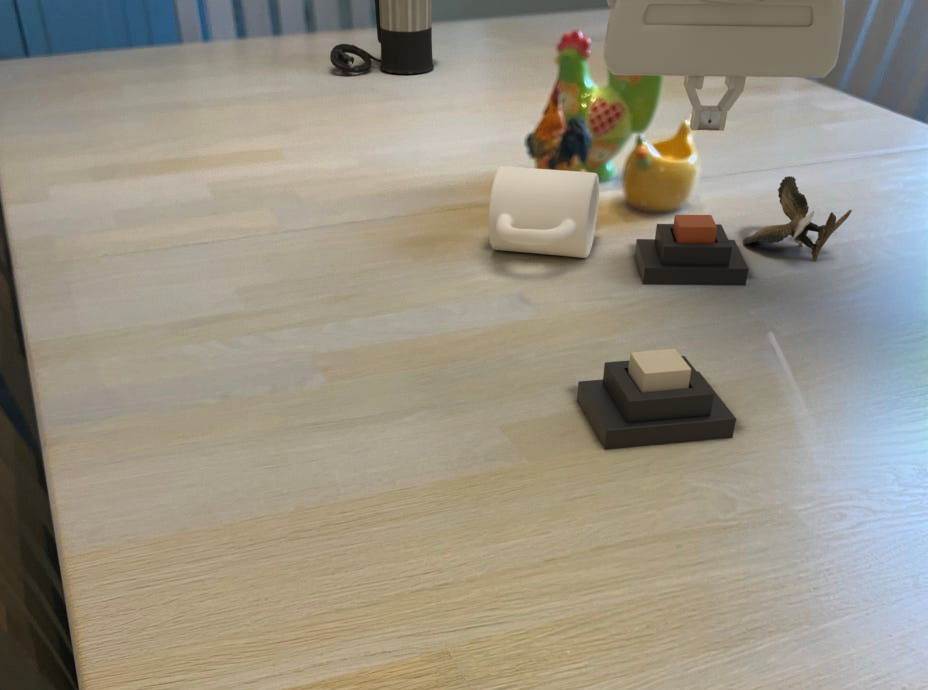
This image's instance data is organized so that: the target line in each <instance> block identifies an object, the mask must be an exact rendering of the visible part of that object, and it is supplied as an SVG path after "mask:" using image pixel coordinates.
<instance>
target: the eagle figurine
mask: <svg viewBox="0 0 928 690" xmlns="http://www.w3.org/2000/svg"><path fill="white" fill-rule="evenodd" d="M796 180H797V179H796V178H795V176H790V175H788V176H785V177H784V178H783V179H782V180H781V182H780V183H779V187H778V189H777V192H778V195H777V196H778V198H779V204H780V205H781V208H782V212H783V214H784V215H785V216H786V217H787V218H788V219H789V220H790V221H789V222H788V223H785V224H771V225H765V226H763V227H762V228H759V229H758V230H757V231H755V232H754V233H753V234H752V235H750V236H746V237H745V238H743V241H742V243H743V244H746V245H747V244H752V243H758V242H766V243H768V244H774V243H780V242H782V241H784V239H786V238H788V237H789V236H791V237H792V239H791V240H792V241H794V243H795V244H798V245H799V246H800V247H804V245H805V247H807V248H809V249H811V256H812V258H811V259H812V261H813V262H816V261H818V257H819V253H820V252H821V250H822V248H823V246H824V245H825V244H826V243H827V241H828V240H829V239H830V237H831V235H833V233H835V231H837V229H838V228H839V227H841V226H842V224H843V223H844V222H845V221H846V220H847V219H848V218H849V216H850V215H851V213H852V211H853V210H852V209H849V210H848V211H846V213H844V214H843V215H842V216H841V217H840V218H838V220H837V216H836V215H835V214H834V212H833V211H831V212H830V213H829V216H828V217H827V220H826V221H825V224H821V225H818V224H816V223H814V222H812V220H813V217H814V215H815V211H814V210H812V211H811V212H810V213H809V203H808V200H807V198H806V195H805V194H803V193H801V192H800V191H799V187H798V186H797V182H796ZM808 213H809V214H808ZM807 214H808V215H807ZM808 232H815V233H817V239H816V240H815V241H814V242H815V243H814V242H813V241H812V239H811V238H810V237H809V236H807V235H808Z"/></svg>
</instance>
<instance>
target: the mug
mask: <svg viewBox="0 0 928 690" xmlns="http://www.w3.org/2000/svg"><path fill="white" fill-rule="evenodd" d="M599 201H600V178H599V174H598V173H597V172H590V171H578V170H577V171H576V170H563V169H547V168H535V167H519V166H506V165H502V166H500V167H498V169H497V170H496V172H495V174H494V178H493V181H492V185H491V190H490V197H489V205H488V217H487V218H488V219H487V220H488V222H487V223H488V225H487V226H488V238H489V239H488V240H489V243H490V246H491V248H492V249H493V250H495V251H503V252H513V253H525V254H526V253H527V254H537V255H548V256H560V257H571V258H583V259H586V258H588V257H589V256H590V253H591V250H592V248H593V244H594V240H595V239H594V238H595V234H596V226H597V219H598V213H599Z"/></svg>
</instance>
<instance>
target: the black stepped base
mask: <svg viewBox="0 0 928 690" xmlns="http://www.w3.org/2000/svg"><path fill="white" fill-rule="evenodd" d="M681 357H682V358H683V359H684V361H685V362H686V363H687V364H688V366H689V367H690V368H691V375H690V381H689V387H688V388H687V389H676V390H664V391H653V392H640V391H639V389H638V388H637V386H636V385H635V383H634V382H633V380H632V379H631V377H630V376H629V374H628V368H629V360H617V361H605V362H604V364H603V365H604V366H603V376H602V379H593V380H592V379H591V380H580V381H578V382H577V383H578V384H577V395H576V401H577V403H578V405H579V406H580V408H581V410H582V412H583V414H584V415H585V417H586V419H587V421H588V423H589V424H590V426H591V428H592V430H593V432H594V433H595V435H596V436H597V439H598V440H599V442H600V444H601V446H602V448H603V449H604V450H605V451H607V450H609V451H610V450H618V449H619V450H620V449H627V448H639V447H651V446H652V447H653V446H660V445H662V446H663V445H672V444H681V443H693V442H702V441H703V442H704V441H714V440H725V439H733V437H734V432H735V427H736V423H737V417H736V416H735V415H734V414H733V412H732V411H731V410H730V409H729V407H728V406H727V405H726V404H725V402H724V401H723V400H722V398H721V397H720V396H719V395H718V394H717V392H716V391H715V390H714V388H713V387H712V386H711V385H710V384H709V382H708V381H707V380H706V378H705V377H704V375H702V374H701V372H700V371H699V370H697V369H696V368H695V367H694V366H693V364H692V363H691V362H690V361H689V359H688V358H687V357H686V356H685V355H681Z"/></svg>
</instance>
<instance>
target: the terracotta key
mask: <svg viewBox="0 0 928 690" xmlns="http://www.w3.org/2000/svg"><path fill="white" fill-rule="evenodd" d="M673 224H674V225H673V235H674V237H675V240H676V243H715V237H716V231H717V226H716V224H717V223H716V222H715V220H714V218H713V216H712V214H674V219H673Z"/></svg>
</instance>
